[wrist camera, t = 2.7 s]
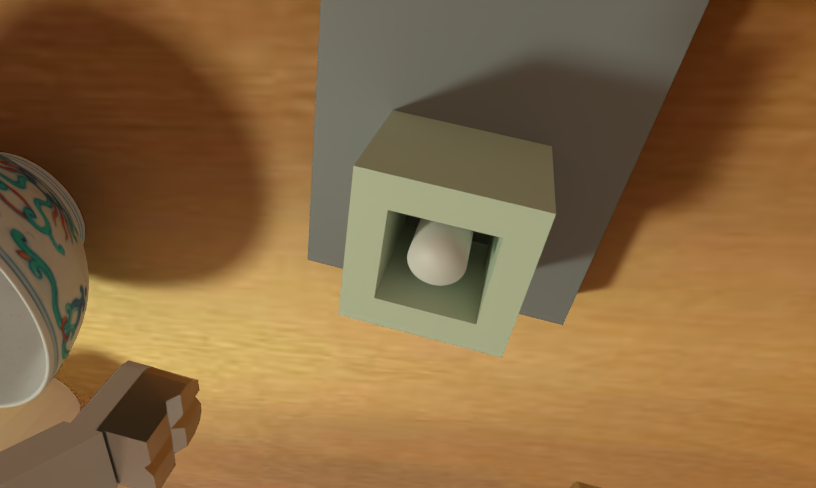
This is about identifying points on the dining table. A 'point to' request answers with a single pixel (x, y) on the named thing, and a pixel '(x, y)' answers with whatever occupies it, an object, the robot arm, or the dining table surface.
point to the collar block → (453, 205)
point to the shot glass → (37, 414)
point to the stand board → (497, 110)
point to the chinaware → (37, 278)
